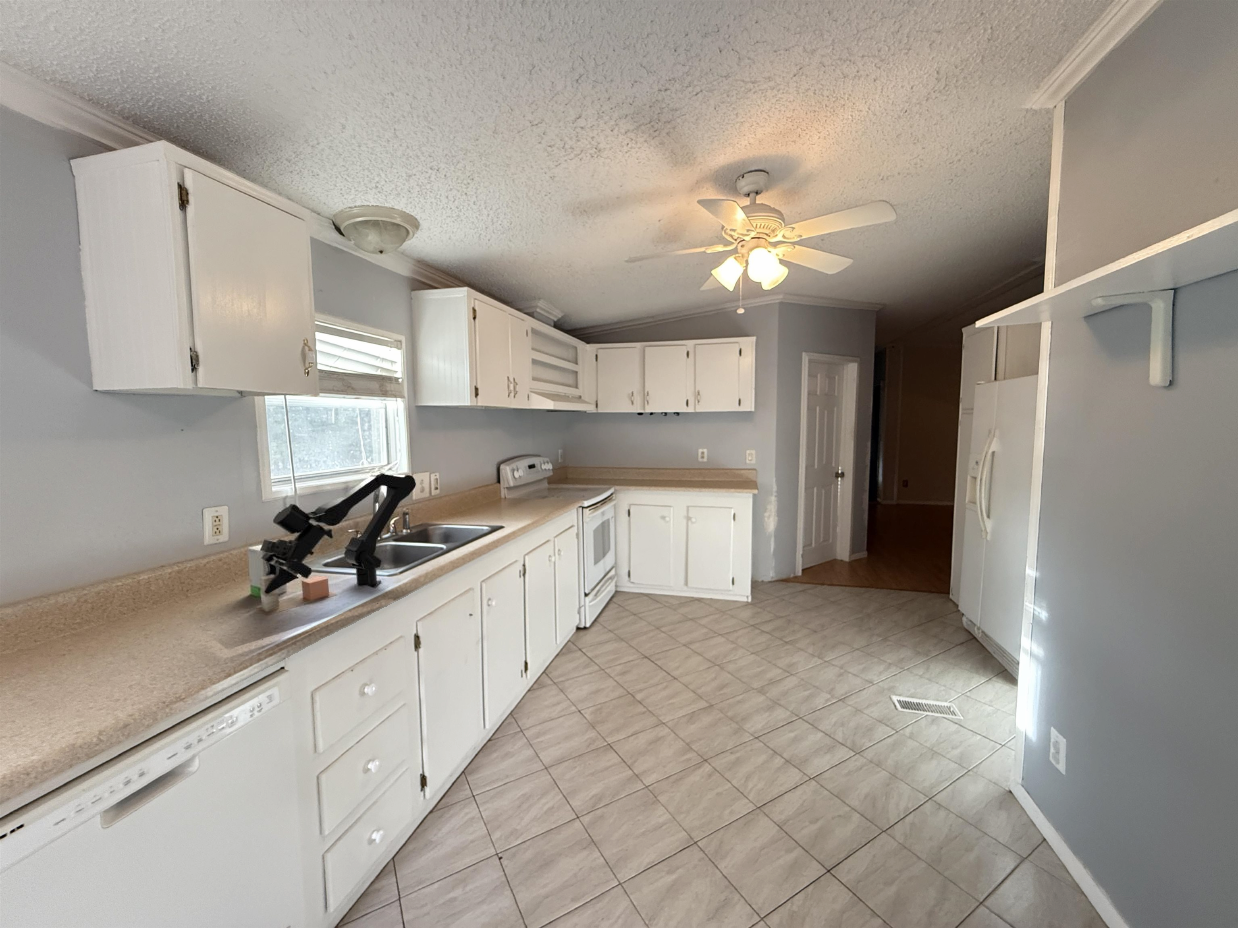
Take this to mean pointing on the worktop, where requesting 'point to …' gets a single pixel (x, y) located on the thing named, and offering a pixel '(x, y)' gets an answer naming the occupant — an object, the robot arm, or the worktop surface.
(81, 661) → the worktop surface
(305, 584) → the cube
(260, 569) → the skincare box
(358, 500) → the robot arm
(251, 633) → the worktop surface
